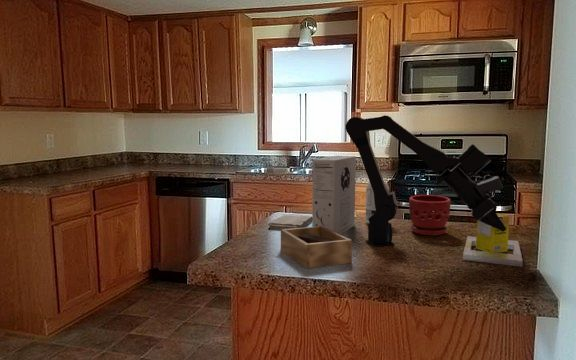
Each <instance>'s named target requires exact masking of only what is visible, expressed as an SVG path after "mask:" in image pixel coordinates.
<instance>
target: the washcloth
mask: <svg viewBox="0 0 576 360" xmlns="http://www.w3.org/2000/svg"><path fill="white" fill-rule="evenodd" d="M310 222H311V223H312V215H311V216H310V215H292V214H290V215H289V214H288V215H287V214H283V215H281V216H279V217H277V218H274V220H272V221H270V222H268V224H267V225H268V226H269V227H267V228H268V230H274V229H276V230H277V231H281V230H282V229H293V228H305V226H306V225H307V226H309V224H308V223H310ZM311 223H310V224H311ZM307 226H306V227H307ZM269 228H270V229H269ZM276 230H275V231H276Z"/></svg>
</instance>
